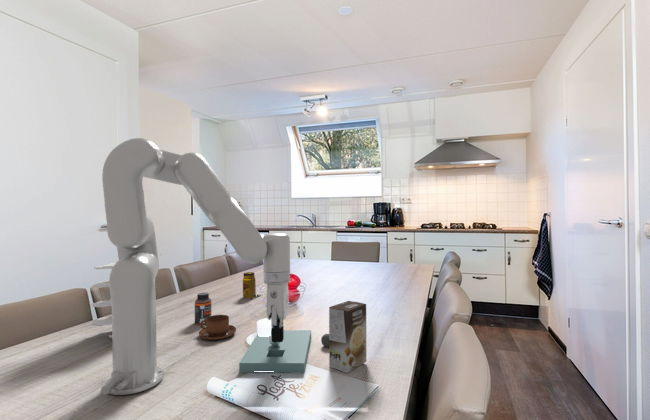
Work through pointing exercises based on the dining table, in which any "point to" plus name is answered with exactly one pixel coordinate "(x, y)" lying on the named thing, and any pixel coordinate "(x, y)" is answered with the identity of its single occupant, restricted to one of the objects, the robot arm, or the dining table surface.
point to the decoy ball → (325, 340)
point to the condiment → (249, 285)
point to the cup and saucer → (216, 328)
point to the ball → (273, 342)
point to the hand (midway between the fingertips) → (277, 340)
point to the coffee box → (347, 336)
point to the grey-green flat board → (278, 353)
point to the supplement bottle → (202, 308)
